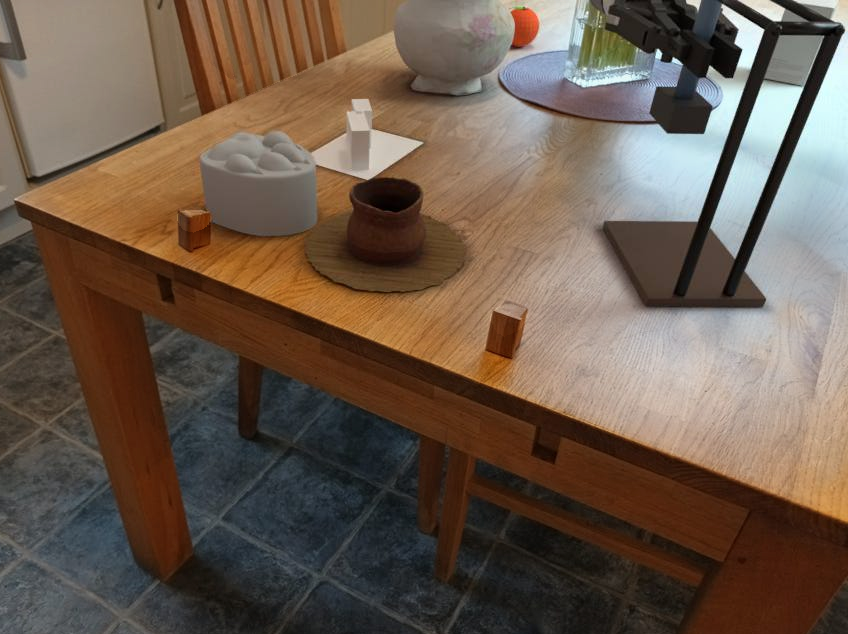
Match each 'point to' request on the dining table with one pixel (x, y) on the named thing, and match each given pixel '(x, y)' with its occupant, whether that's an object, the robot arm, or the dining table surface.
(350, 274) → the ceramic pot
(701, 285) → the desk lamp
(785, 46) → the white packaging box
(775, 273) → the dining table surface
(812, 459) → the dining table surface
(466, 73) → the grey round vase
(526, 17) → the clementine
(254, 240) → the dining table surface
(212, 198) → the lumpy-topped squat cylinder
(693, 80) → the brush
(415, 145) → the napkin holder
